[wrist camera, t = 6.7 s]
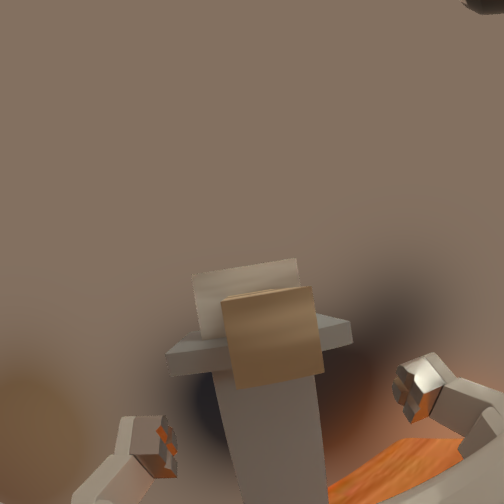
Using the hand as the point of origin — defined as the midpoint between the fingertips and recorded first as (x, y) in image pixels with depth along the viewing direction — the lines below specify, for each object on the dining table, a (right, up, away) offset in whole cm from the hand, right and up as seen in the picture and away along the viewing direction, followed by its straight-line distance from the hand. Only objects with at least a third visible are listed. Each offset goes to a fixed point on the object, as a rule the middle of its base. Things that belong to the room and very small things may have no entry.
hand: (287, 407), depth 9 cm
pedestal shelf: (+4, -32, +11) cm, 34 cm away
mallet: (-1, 0, +9) cm, 9 cm away
